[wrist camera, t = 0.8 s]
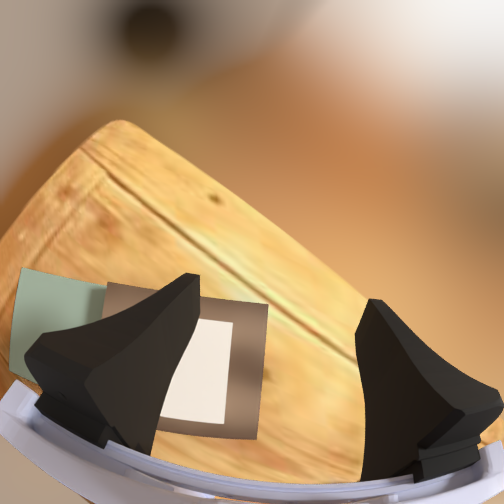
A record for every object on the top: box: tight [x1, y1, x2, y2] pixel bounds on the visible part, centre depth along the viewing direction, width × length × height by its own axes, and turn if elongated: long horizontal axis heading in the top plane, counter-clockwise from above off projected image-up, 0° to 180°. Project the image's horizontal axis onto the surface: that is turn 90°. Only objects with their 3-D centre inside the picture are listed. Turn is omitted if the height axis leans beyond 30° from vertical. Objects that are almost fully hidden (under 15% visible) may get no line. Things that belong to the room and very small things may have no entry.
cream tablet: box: [160, 319, 233, 424], centre depth 19 cm, size 8×6×2 cm
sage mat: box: [9, 267, 107, 384], centre depth 21 cm, size 12×13×1 cm
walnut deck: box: [102, 282, 268, 440], centre depth 21 cm, size 12×14×3 cm
